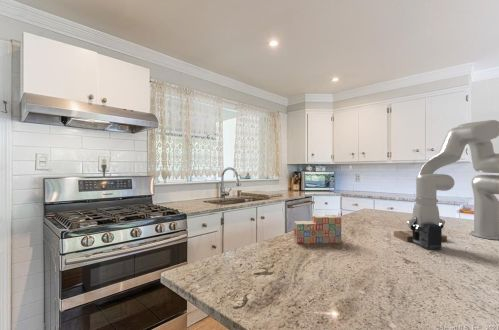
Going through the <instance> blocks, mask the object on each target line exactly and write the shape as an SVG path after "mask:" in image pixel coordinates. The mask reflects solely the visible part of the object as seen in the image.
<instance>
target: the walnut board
mask: <svg viewBox="0 0 499 330" xmlns="http://www.w3.org/2000/svg"><path fill="white" fill-rule="evenodd" d="M412 236H413V231H412V230H395V231H393V237H395V238H397V239H399V240H402V241H403V242H406V243H412V238H413V237H412ZM447 241H448V236H447V235H445V234H442V239H441V242H447Z"/></svg>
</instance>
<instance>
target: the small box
mask: <svg viewBox="0 0 499 330" xmlns="http://www.w3.org/2000/svg"><path fill="white" fill-rule="evenodd" d="M413 226H414V225H413ZM416 228H417V227H416ZM442 230H443V228H442V226H440V225H436V224H424V227H423V228H420V229H419V230H418V232H419V241H416V240H414V239H413V238H412V242H411V243H413V244H415V245H417V246H419V247H421V248H422V249H423V248H424V249H426V250H430V251H432V250H435V251H437V250H439V251H440V250H442V241H441V239H442V235H443V233H442ZM412 237H413V236H412Z"/></svg>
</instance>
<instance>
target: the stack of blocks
mask: <svg viewBox="0 0 499 330" xmlns="http://www.w3.org/2000/svg"><path fill="white" fill-rule="evenodd" d="M342 225H343V224H342V217H341V216H340V215H337V214H311V220H307V221H306V220H304V221H303V220H302V221H301V220H299V221H298V220H297V221H293V240H294V241H295V243H296V244H297V243H299V244H342Z"/></svg>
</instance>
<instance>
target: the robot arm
mask: <svg viewBox="0 0 499 330" xmlns="http://www.w3.org/2000/svg"><path fill="white" fill-rule="evenodd" d="M498 137H499V120H495V119H490V120H489V119H488V120H482V121H481V120H479V121H475V122H474V121H473V122H466V123H462V124H459V125H457V126H456V127H453V128H451V129H449V130H448V131H447V134H446V135H445V137H444V140H443V142H442V144H441V146H440V149H439V151H438V153H436V154H435V155H434V156H432V157H431V158H430V159H428V160H427V161H426V162H425V163H424V164H423V165H422V167H421V168H420V170H419V173H418V175H417V176H416V178H415V181H416V182H415V183H416V185H415V189H416V190H415V193H416V194H415V199H416V200H415V201H416V202H415V204H414V205H413V208H412V214H411V215H412V217H411V219H409V220H407V222H406V224H407V225H408V228H409V229H410V231H413V239H414V240H416V241H419V232H418V230H419V229H420V228H423V227H424V224H436V225H440V226H442V229H443V228H444V226H445V224H446V220H443V219H441V218H440V211H439V207H438V204H437V203H438V202H439V200H438V199H437V191H441V192H442V191H444V192H445V191H449V190H451V189H453V188H454V187H455V180H454V178H453V177H452V176H451V175H449V174H446V173H445V174H444V173H435V172H436V171H437V170H439V169H440V168H442V167H446V166H449V165H451V164H454V163H456V162H458V161H459V160H460V159H461V158H462V155H463V152H464V151H465V148H466V146H467V145H468V146H469V150H470V156H471V162H472V168H473V170H474V171H475V172H478V173H485V174H478V175H475V176H474V177H472V179H471V189H472V192H473V230H472V231H470V232H469V234H470V235H471V236H472V237H476V238H481V239H487V240H495V241H496V240H497V241H498V240H499V199H498V198H497V196H496V195H499V152H498V153H495V150H494V146H493V142H492V141H491V140H494V139H496V138H498ZM486 173H487V174H486ZM488 173H489V174H488ZM413 225H414V226H413ZM416 227H417V228H416Z"/></svg>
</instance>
